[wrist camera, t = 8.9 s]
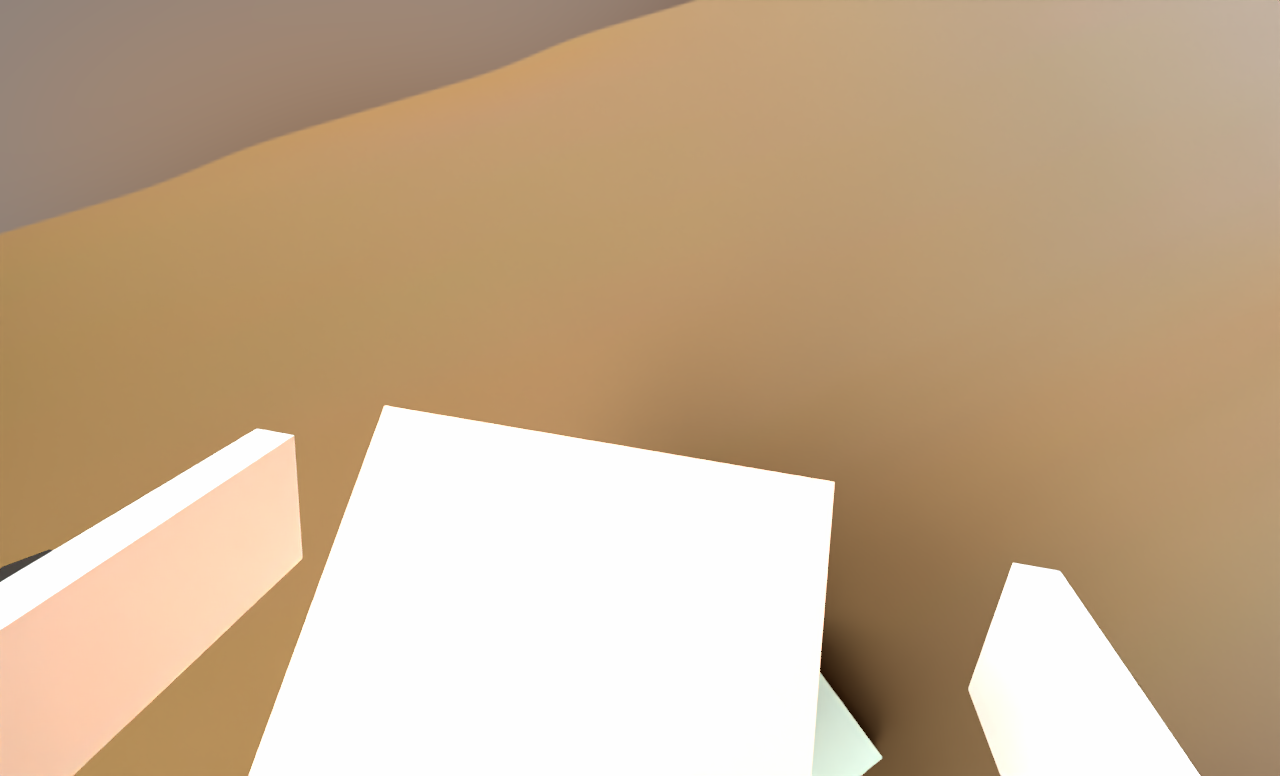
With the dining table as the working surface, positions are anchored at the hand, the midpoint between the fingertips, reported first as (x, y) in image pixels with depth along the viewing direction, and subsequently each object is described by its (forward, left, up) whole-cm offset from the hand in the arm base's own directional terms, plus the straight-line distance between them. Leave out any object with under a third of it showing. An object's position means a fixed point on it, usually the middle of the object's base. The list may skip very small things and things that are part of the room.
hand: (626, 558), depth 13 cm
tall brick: (+2, -2, -6) cm, 7 cm away
